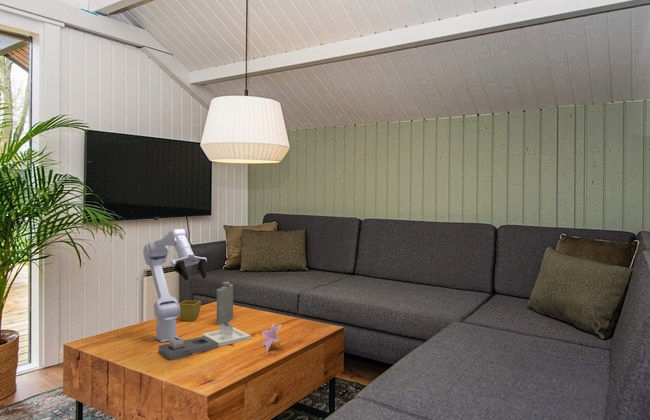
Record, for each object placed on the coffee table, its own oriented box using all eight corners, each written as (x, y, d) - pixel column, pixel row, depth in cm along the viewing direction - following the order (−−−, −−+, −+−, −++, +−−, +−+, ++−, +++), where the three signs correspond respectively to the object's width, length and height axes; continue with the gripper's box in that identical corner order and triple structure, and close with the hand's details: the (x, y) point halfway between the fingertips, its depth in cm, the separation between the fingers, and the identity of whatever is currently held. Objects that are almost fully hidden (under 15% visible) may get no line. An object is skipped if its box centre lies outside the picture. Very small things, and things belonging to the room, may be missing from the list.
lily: (263, 343, 197) (254, 327, 193) (288, 333, 198) (280, 316, 194) (265, 361, 186) (256, 344, 182) (291, 350, 187) (283, 333, 183)
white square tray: (202, 338, 200) (202, 333, 200) (233, 331, 210) (233, 327, 210) (218, 347, 188) (218, 342, 188) (250, 339, 198) (250, 335, 198)
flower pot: (185, 317, 234) (185, 300, 234) (201, 317, 233) (201, 300, 233) (177, 321, 225) (177, 304, 225) (194, 322, 224) (194, 304, 224)
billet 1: (169, 353, 182) (169, 337, 182) (179, 350, 184) (179, 335, 184) (173, 355, 179) (173, 340, 179) (183, 353, 181) (183, 338, 181)
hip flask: (228, 316, 235) (228, 279, 234) (235, 317, 234) (235, 279, 234) (215, 325, 219) (215, 285, 219) (223, 326, 219) (223, 285, 218)
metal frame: (158, 351, 183) (158, 345, 183) (204, 341, 196) (204, 335, 196) (169, 360, 174) (169, 353, 174) (217, 349, 187) (217, 343, 187)
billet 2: (220, 337, 200) (220, 324, 199) (228, 335, 202) (228, 322, 202) (224, 340, 197) (224, 326, 196) (232, 338, 199) (232, 324, 199)
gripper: (170, 246, 178) (181, 273, 170) (204, 244, 187) (216, 269, 180) (165, 258, 181) (176, 284, 174) (198, 255, 191) (209, 280, 184)
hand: (196, 277), depth 177 cm, fingers open, 7 cm apart
